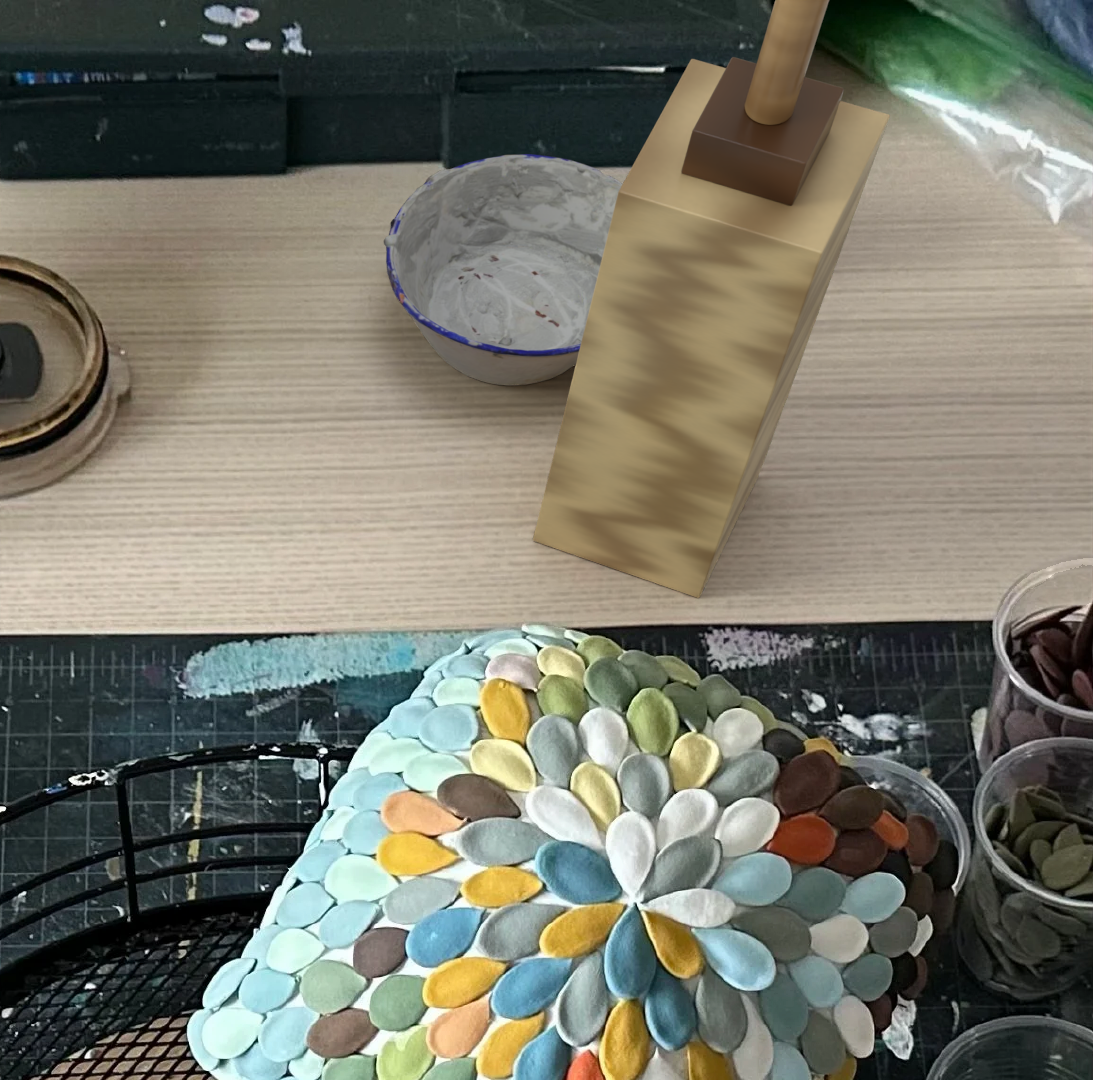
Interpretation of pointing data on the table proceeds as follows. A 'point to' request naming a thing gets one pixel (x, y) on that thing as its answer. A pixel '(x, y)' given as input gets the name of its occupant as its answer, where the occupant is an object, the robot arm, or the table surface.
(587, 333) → the stand
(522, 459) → the table surface
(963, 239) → the table surface
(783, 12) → the wooden stamp
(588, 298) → the bowl
